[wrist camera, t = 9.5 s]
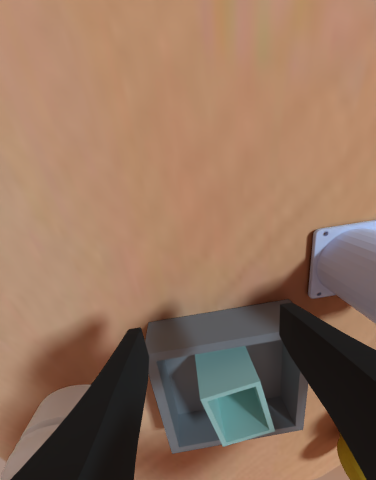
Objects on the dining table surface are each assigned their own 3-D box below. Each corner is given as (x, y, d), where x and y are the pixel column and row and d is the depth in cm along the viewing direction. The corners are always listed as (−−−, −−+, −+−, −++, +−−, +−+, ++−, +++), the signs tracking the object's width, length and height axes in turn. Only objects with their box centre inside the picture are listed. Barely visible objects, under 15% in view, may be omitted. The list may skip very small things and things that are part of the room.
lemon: (343, 443, 32) (396, 526, 24) (318, 438, 31) (365, 524, 23) (364, 423, 30) (428, 506, 23) (339, 417, 29) (397, 502, 22)
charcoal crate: (289, 299, 21) (314, 325, 17) (284, 393, 26) (303, 429, 22) (148, 322, 21) (142, 355, 17) (172, 413, 26) (172, 453, 22)
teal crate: (240, 335, 21) (260, 381, 16) (254, 380, 24) (275, 431, 19) (194, 350, 21) (200, 399, 17) (213, 393, 24) (223, 446, 19)
